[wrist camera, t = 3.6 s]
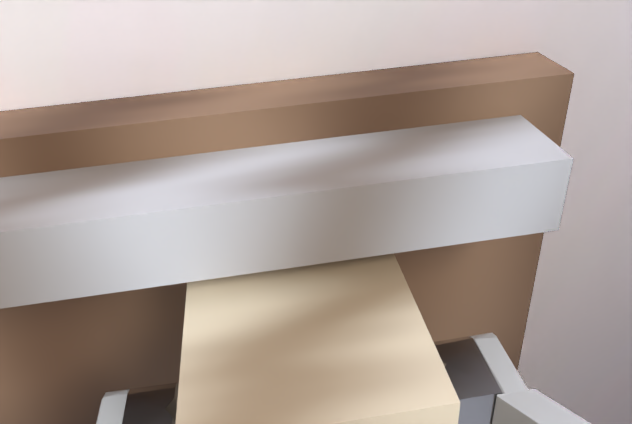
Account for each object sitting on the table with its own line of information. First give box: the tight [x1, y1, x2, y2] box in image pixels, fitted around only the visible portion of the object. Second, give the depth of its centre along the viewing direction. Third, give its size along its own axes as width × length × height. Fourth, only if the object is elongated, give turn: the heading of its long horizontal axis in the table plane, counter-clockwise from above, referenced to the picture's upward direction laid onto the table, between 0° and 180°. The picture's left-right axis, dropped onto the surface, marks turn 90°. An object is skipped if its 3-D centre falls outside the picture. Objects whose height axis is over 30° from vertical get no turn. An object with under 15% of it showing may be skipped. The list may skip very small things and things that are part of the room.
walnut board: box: [0, 52, 574, 424], centre depth 13 cm, size 22×14×4 cm, turn 94°
